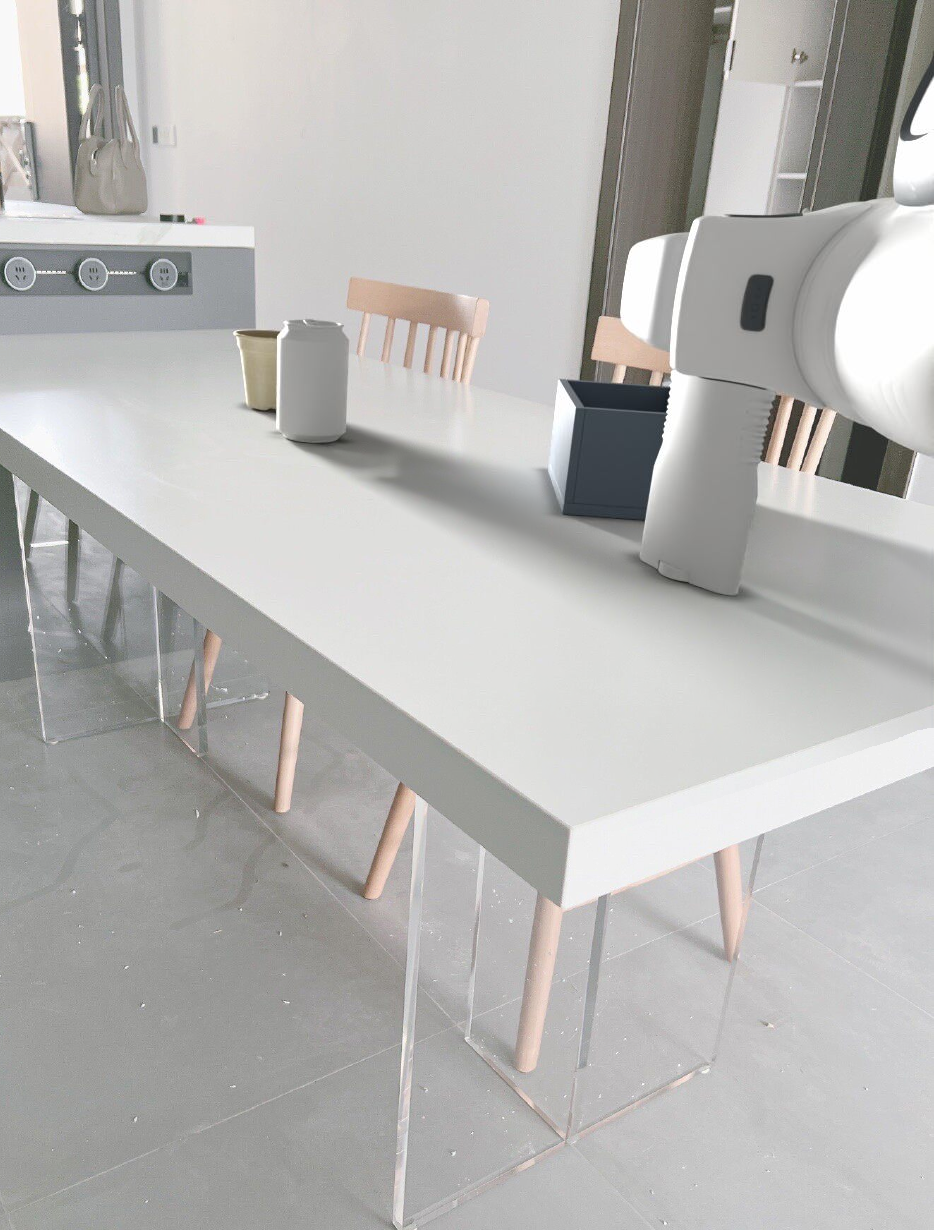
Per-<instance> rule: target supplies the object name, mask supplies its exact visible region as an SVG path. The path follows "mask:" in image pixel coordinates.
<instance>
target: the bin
mask: <svg viewBox="0 0 934 1230" xmlns="http://www.w3.org/2000/svg"><path fill="white" fill-rule="evenodd" d="M670 391H671V388H670V386H665V385H653V384H639V383H638V384H637V383H624V382H610V381H598V380H597V381H596V380H584V379H583V380H582V379H569V378H568V379H566V378H558V381H557V388H556V395H555V404H554V405H555V406H554V414H553V422H552V431H551V438H550V440H551V441H550V448H549V454H548V455H549V456H548V464H547V472H548V475H549V479H550V480H551V484H552V487H553V490H554V493H555V496H556V499H557V501H558V505H559V507H560V510H561V514H562V515H569V516H580V517H581V516H583V517H595V518H609V519H611V518H612V519H623V520H624V519H625V520H638V521H645V519H646V512H647V506H648V500H649V494H650V488H651V482H652V476H653V470H654V465H655V462H656V460H657V457H658V454H659V452H660V449H661V446H662V444H663V437H662V435H663V434H664V428H665V425H664V423H665V422H666V421H667V420H666V416H667V415H668V414H667V412H666V411H667V410H668V408H667V406H668V405H669V402H668V399H669V398H670V394H669V392H670Z"/></svg>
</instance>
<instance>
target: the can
mask: <svg viewBox="0 0 934 1230" xmlns="http://www.w3.org/2000/svg"><path fill="white" fill-rule="evenodd" d="M283 324H284V328H283V329H282V330H281V331H282V332H281V333H280V334H279V335H278V349H277V410H276V429H277V430H278V431H279V432H280V434H282V435H283V437H284V439H287V440H289V441H290V440H291V441H295V442H300V443H311V444H312V443H315V444H323V443H324V444H325V443H332V442H336V441H338V440H339V438H340V437H341V436H343V435H344V434H345V433H346V431H347V411H348V410H347V409H348V383H349V357H350V339H349V337H348V336H347V335H346V333H344V331H343V328H344V327H345V325H344V324H342V322H341V323H340V322H336V321H331V320H320V319H313V318H305V319H287V320H285V321H283Z"/></svg>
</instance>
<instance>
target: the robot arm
mask: <svg viewBox="0 0 934 1230" xmlns="http://www.w3.org/2000/svg"><path fill="white" fill-rule="evenodd" d="M892 174H893V175H892V188H893V196H891V197H880V198H875V199H869V200H866V201H853V202H852V201H851V202H845V203H841V204H838V205H834V206H830V207H826V208H822V209H818V210H814V211H810V212H804V213H803V212H785V213H779V214H778V213H777V214H736V213H735V214H734V213H733V214H731V213H725V214H723V215H722V216H721V215H701V216H699V217H696V218H695V219H694V220H693V222H692V225H691V227H690V231H688V232H686V231H685V232H675V233H674V232H673V233H667V234H663V235H658V236H654V237H650V238H647V239H644V240H641V241H639V242H636V243H635V244H634V245H632V247H631V249H630V250H629V254H628V257H627V261H626V267H625V272H624V273H625V274H624V279H623V286H622V294H621V303H620V320H621V323H622V325H623V326H624V327H625V328H626V330H627V331H629V333H631V334H632V335H634V336H635V337H636V338H637V339H639V340H640V341H642V342H643V343H645V344H646V345H648V346H650V347H653V348H655V349H657V350H660V351H664V352H666V353H669V366H670V368H671V369H672V371H673V370H675V371H676V372H678V373H681V374H684V375H690V376H697V377H699V378H702V379H707V380H714V381H720V382H727V383H733V384H738V385H744V386H749V387H753V388H758V389H762V390H767V389H769V390H773V391H776V393H779V394H782V395H785V396H788V397H790V398H793V399H796V400H798V401H800V402H803V403H804V404H806V405H808V406H810V407H812V408H814V409H817V410H824V409H826V408H827V409H829V410H831V411H833V412H835V413H837V414H839V415H841V416H843V417H845V418H846V419H849V420H851V421H853V422H855V423H857V424H860V425H863V426H866V427H869V428H872V429H873V430H874V431H876V433H879V434H880V435H882V436H883V437H885V438H887V439H888V440H890V441H892V442H894V443H896V444H898V445H899V446H902V447H904V448H907V449H909V450H911V451H913V452H916V453H918V454H921V455H923V456H926V457H930V458H932V459H934V56H933V57H932V59H931V61H930V63H929V64H928V66H927V68H926V70H925V72H924V74H923V76H922V78H921V79H920V82H919V84H918V86H917V87H916V90H915V92H914V93H913V96H912V98H911V101H910V103H909V105H908V107H907V109H906V112H905V114H904V117H903V119H902V122H901V125H900V129H899V135H898V141H897V147H896V152H895V159H894V166H893V173H892Z"/></svg>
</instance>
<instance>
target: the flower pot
mask: <svg viewBox="0 0 934 1230" xmlns="http://www.w3.org/2000/svg"><path fill="white" fill-rule="evenodd" d="M282 331H283V330H274V329H272V330H271V329H239V330H238V329H237V330H235V331H233V335H234V337H236V342H237V347H238V349H239V351H240V359H241V367H242V376H243V385H244V392H245V403H246V405H247V407H248V408H251V409H256V410H259V411H267V410H269V409H274V410H275V411H277V349H278V335H279V334H280V333H281V332H282Z"/></svg>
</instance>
